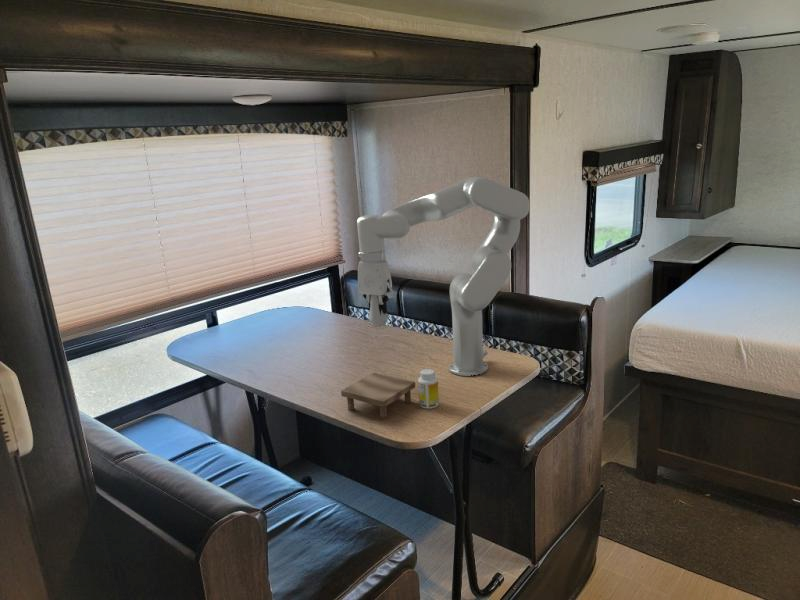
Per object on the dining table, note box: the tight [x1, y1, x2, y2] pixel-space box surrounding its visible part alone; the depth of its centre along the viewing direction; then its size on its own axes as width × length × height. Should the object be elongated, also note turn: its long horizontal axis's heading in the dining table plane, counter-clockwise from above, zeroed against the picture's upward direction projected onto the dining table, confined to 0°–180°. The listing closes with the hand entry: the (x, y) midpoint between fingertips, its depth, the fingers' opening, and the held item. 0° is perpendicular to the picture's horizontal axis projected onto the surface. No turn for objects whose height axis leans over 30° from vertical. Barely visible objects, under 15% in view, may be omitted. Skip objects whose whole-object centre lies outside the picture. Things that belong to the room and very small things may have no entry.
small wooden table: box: [340, 372, 416, 421], centre depth 163 cm, size 15×15×6 cm
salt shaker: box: [368, 295, 389, 328], centre depth 176 cm, size 6×6×13 cm
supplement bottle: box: [417, 368, 440, 410], centre depth 161 cm, size 6×6×10 cm
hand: (378, 314), depth 176 cm, fingers closed on salt shaker, 3 cm apart
